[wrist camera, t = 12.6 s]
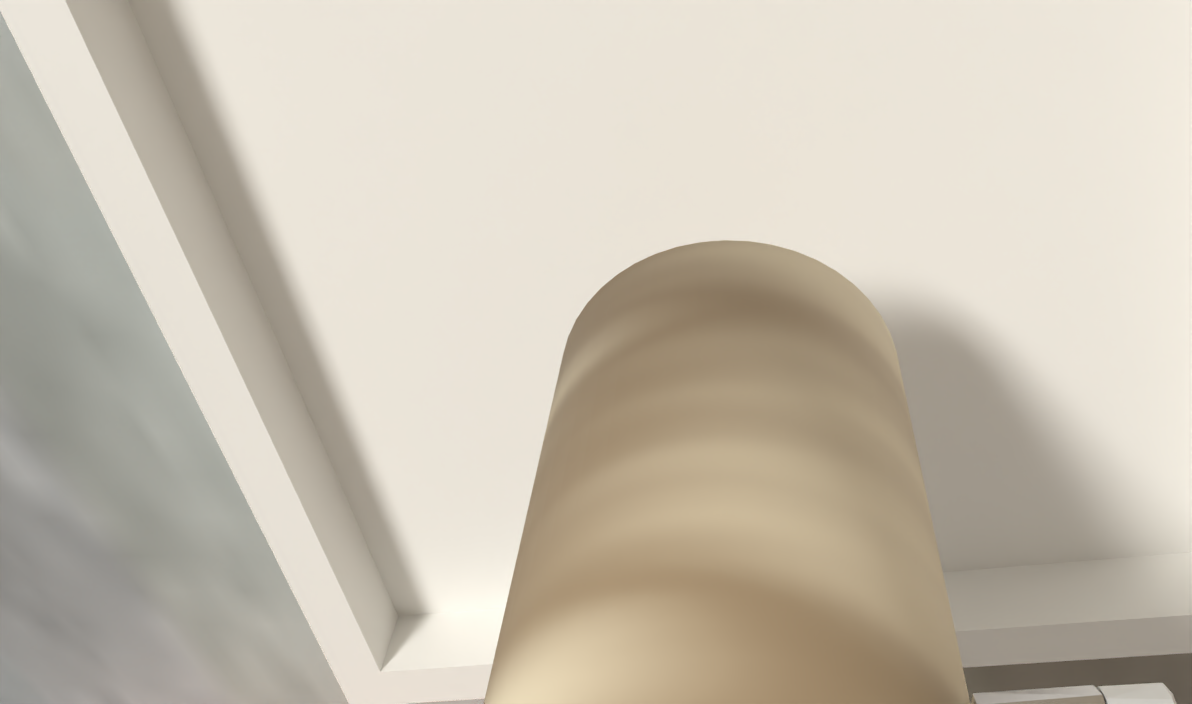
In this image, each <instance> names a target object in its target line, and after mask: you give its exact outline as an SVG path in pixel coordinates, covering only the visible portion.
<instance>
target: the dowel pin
mask: <svg viewBox="0 0 1192 704" xmlns="http://www.w3.org/2000/svg"><path fill="white" fill-rule="evenodd" d="M484 704H970V700H969V695H968V690H967V685H966V681H965V676H964V671H963V666H962V662H961V657H960V652H959V647H958V642H957V638H956V633H955V628H954V623H953V619H952V614H951V609H950V604H949V599H948V595H947V590H946V585H945V580H944V576H943V571H942V566H941V561H940V557H939V552H938V547H937V542H936V537H935V533H934V528H933V523H932V518H931V514H930V509H929V504H928V499H927V494H926V490H925V485H924V480H923V475H922V471H921V466H920V461H919V456H918V452H917V447H916V442H915V437H914V432H913V428H912V423H911V418H910V413H909V409H908V404H907V399H906V394H905V389H904V385H903V380H902V375H901V370H900V366H899V361H898V356H897V351H896V348H895V345H894V342H893V339H892V336H891V334H890V331H889V329H888V328H887V326H886V324H885V322H884V320H883V318H882V316H881V315H880V313H879V312H878V311H877V309H876V308H875V307H874V305H873V304H872V303H871V301H870V300H869V299H868V298H867V297H866V296H865V295H864V294H863V293H862V292H861V291H860V290H859V289H858V288H857V287H856V286H855V285H854V284H853V283H852V282H850V281H849V280H848V279H846V278H845V277H844V276H842V275H841V274H840V273H838V272H837V271H836V270H834V269H832V268H830V267H828V266H827V265H825V264H823V263H821V262H820V261H818V260H816V259H813V258H811V257H809V256H806V255H804V254H801V253H799V252H796V251H793V250H790V249H786V248H782V247H779V246H775V245H771V244H764V243H758V242H751V241H732V240H721V241H709V242H699V243H694V244H689V245H684V246H679V247H675V248H672V249H669V250H666V251H663V252H660V253H657V254H654V255H652V256H650V257H648V258H645V259H643V260H641V261H639V262H637V263H635V264H633V265H632V266H630V267H628V268H627V269H625V270H624V271H622V272H620V273H619V274H617V275H616V276H615V277H614V278H612V279H611V280H610V281H609V282H608V283H606V284H605V285H604V286H603V287H602V288H600V289H599V291H598V292H597V293H596V294H595V295H594V296H593V297H592V298H591V299H590V301H589V302H588V303H587V304H586V306H585V307H584V309H583V310H582V312H581V313H580V315H579V316H578V318H577V319H576V321H575V323H574V325H573V327H572V329H571V332H570V334H569V336H568V339H567V343H566V346H565V350H564V353H563V357H562V362H561V366H560V370H559V375H558V379H557V384H556V388H555V392H554V397H553V401H552V406H551V410H550V414H549V419H548V423H547V427H546V432H545V436H544V441H543V445H542V449H541V454H540V458H539V463H538V467H537V471H536V476H535V480H534V485H533V489H532V493H531V498H530V502H529V507H528V511H527V515H526V520H525V524H524V529H523V533H522V537H521V542H520V546H519V551H518V555H517V559H516V564H515V568H514V573H513V577H512V581H511V586H510V590H509V595H508V599H507V603H506V608H505V612H504V616H503V621H502V625H501V630H500V634H499V638H498V643H497V647H496V652H495V656H494V660H493V665H492V669H491V674H490V678H489V682H488V687H487V691H486V696H485V700H484Z"/></svg>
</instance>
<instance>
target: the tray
mask: <svg viewBox="0 0 1192 704" xmlns="http://www.w3.org/2000/svg"><path fill="white" fill-rule="evenodd" d="M0 11H1V13H2V15H3V17H4V19H5V21H6V23H7V25H8V27H9V29H10V31H11V33H12V35H13V37H14V39H15V41H16V43H17V45H18V47H19V49H20V51H21V53H22V55H23V57H24V59H25V61H26V63H27V65H28V67H29V69H30V71H31V73H32V75H33V77H34V79H35V81H36V83H37V85H38V87H39V89H40V91H41V93H42V95H43V97H44V99H45V101H46V103H47V105H48V107H49V109H50V111H51V113H52V115H53V117H54V119H55V121H56V123H57V125H58V127H59V129H60V131H61V133H62V135H63V137H64V139H65V141H66V142H67V144H68V146H69V148H70V150H71V152H72V154H73V156H74V158H75V160H76V162H77V164H78V166H79V168H80V170H81V172H82V174H83V176H84V178H85V180H86V182H87V184H88V186H89V188H90V190H91V192H92V194H93V196H94V198H95V200H96V202H97V204H98V206H99V208H100V210H101V212H102V214H103V216H104V218H105V220H106V222H107V224H108V226H109V228H110V230H111V232H112V234H113V236H114V238H115V240H116V242H117V244H118V246H119V248H120V250H121V252H122V254H123V256H124V258H125V260H126V262H127V264H128V266H129V268H130V270H131V272H132V274H133V276H134V278H135V280H136V282H137V284H138V286H139V288H140V290H141V292H142V294H143V295H144V297H145V299H146V301H147V303H148V305H149V307H150V309H151V311H152V313H153V315H154V317H155V319H156V321H157V323H158V325H159V327H160V329H161V331H162V333H163V335H164V337H165V339H166V341H167V343H168V345H169V347H170V349H171V351H172V353H173V355H174V357H175V359H176V361H177V363H178V365H179V367H180V369H181V371H182V373H183V375H184V377H185V379H186V381H187V383H188V385H189V387H190V389H191V391H192V393H193V395H194V397H195V399H196V401H197V403H198V405H199V407H200V409H201V411H202V413H203V415H204V417H205V419H206V421H207V423H208V425H209V427H210V429H211V431H212V433H213V435H214V437H215V439H216V441H217V443H218V445H219V447H220V448H221V450H222V452H223V454H224V456H225V458H226V460H227V462H228V464H229V466H230V468H231V470H232V472H233V474H234V476H235V478H236V480H237V482H238V484H239V486H240V488H241V490H242V492H243V494H244V496H245V498H246V500H247V502H248V504H249V506H250V508H251V510H252V512H253V514H254V516H255V518H256V520H257V522H258V524H259V526H260V528H261V530H262V532H263V534H264V536H265V538H266V540H267V542H268V544H269V546H270V548H271V550H272V552H273V554H274V556H275V558H276V560H277V562H278V564H279V566H280V568H281V570H282V572H283V574H284V576H285V578H286V580H287V582H288V584H289V586H290V588H291V590H292V592H293V594H294V596H295V598H296V600H297V602H298V603H299V605H300V607H301V609H302V611H303V613H304V615H305V617H306V619H307V621H308V623H309V625H310V627H311V629H312V631H313V633H314V635H315V637H316V639H317V641H318V643H319V645H320V647H321V649H322V651H323V653H324V655H325V657H326V659H327V661H328V663H329V665H330V667H331V669H332V671H333V673H334V675H335V677H336V679H337V681H338V683H339V685H340V687H341V689H342V691H343V693H344V695H345V697H346V699H347V701H348V703H349V704H407V703H423V702H438V701H454V700H470V699H485V696H486V691H487V687H488V682H489V678H490V674H491V669H492V665H493V660H494V656H495V652H496V647H497V643H498V638H499V634H500V630H501V625H502V621H503V616H504V612H505V608H506V603H507V599H508V595H509V590H510V586H511V581H512V577H513V573H514V568H515V564H516V559H517V555H518V551H519V546H520V542H521V537H522V533H523V529H524V524H525V520H526V515H527V511H528V507H529V502H530V498H531V493H532V489H533V485H534V480H535V476H536V471H537V467H538V463H539V458H540V454H541V449H542V445H543V441H544V436H545V432H546V427H547V423H548V419H549V414H550V410H551V406H552V401H553V397H554V392H555V388H556V384H557V379H558V375H559V370H560V366H561V362H562V357H563V353H564V350H565V346H566V343H567V339H568V336H569V334H570V332H571V329H572V327H573V325H574V323H575V321H576V319H577V318H578V316H579V315H580V313H581V312H582V310H583V309H584V307H585V306H586V304H587V303H588V302H589V301H590V299H591V298H592V297H593V296H594V295H595V294H596V293H597V292H598V291H599V289H600V288H602V287H603V286H604V285H605V284H606V283H608V282H609V281H610V280H611V279H612V278H614V277H615V276H616V275H617V274H619V273H620V272H622V271H624V270H625V269H627V268H628V267H630V266H632V265H633V264H635V263H637V262H639V261H641V260H643V259H645V258H648V257H650V256H652V255H654V254H657V253H660V252H663V251H666V250H669V249H672V248H675V247H679V246H684V245H689V244H694V243H699V242H709V241H721V240H732V241H751V242H758V243H764V244H771V245H775V246H779V247H782V248H786V249H790V250H793V251H796V252H799V253H801V254H804V255H806V256H809V257H811V258H813V259H816V260H818V261H820V262H821V263H823V264H825V265H827V266H828V267H830V268H832V269H834V270H836V271H837V272H838V273H840V274H841V275H842V276H844V277H845V278H846V279H848V280H849V281H850V282H852V283H853V284H854V285H855V286H856V287H857V288H858V289H859V290H860V291H861V292H862V293H863V294H864V295H865V296H866V297H867V298H868V299H869V300H870V301H871V303H872V304H873V305H874V307H875V308H876V309H877V311H878V312H879V313H880V315H881V316H882V318H883V320H884V322H885V324H886V326H887V328H888V329H889V331H890V334H891V336H892V339H893V342H894V345H895V348H896V351H897V356H898V361H899V366H900V370H901V375H902V380H903V385H904V389H905V394H906V399H907V404H908V409H909V413H910V418H911V423H912V428H913V432H914V437H915V442H916V447H917V452H918V456H919V461H920V466H921V471H922V475H923V480H924V485H925V490H926V494H927V499H928V504H929V509H930V514H931V518H932V523H933V528H934V533H935V537H936V542H937V547H938V552H939V557H940V561H941V566H942V571H943V576H944V580H945V585H946V590H947V595H948V599H949V604H950V609H951V614H952V619H953V623H954V628H955V633H956V638H957V642H958V647H959V652H960V657H961V662H962V666H963V668H966V667H982V666H998V665H1013V664H1029V663H1044V662H1060V661H1075V660H1091V659H1106V658H1122V657H1137V656H1153V655H1168V654H1184V653H1192V0H0Z"/></svg>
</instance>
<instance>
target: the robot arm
mask: <svg viewBox="0 0 1192 704" xmlns="http://www.w3.org/2000/svg"><path fill="white" fill-rule="evenodd" d="M971 704H1177V703H1176V700H1175V698H1174V695H1173V693H1172V692H1171V691H1170V690H1169V689H1168V688H1167V687H1166V686H1165V685H1164V684H1163V683H1144V684H1128V685H1111V686H1098V687H1095V686H1094V685H1085V686H1071V687H1056V688H1042V689H1027V690H1012V691H998V692H983V693H972V701H971Z"/></svg>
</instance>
